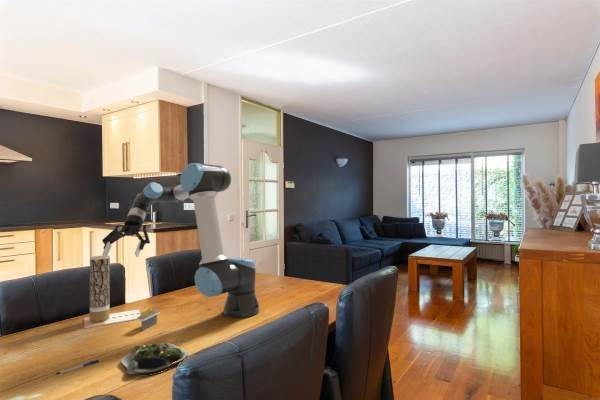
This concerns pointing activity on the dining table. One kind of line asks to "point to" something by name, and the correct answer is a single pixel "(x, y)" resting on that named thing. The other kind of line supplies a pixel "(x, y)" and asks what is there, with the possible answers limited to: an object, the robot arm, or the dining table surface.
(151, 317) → the platform
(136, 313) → the ticket board
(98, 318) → the bark-patterned cylinder
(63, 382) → the dining table surface
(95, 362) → the ballpoint pen
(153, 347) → the salad plate
